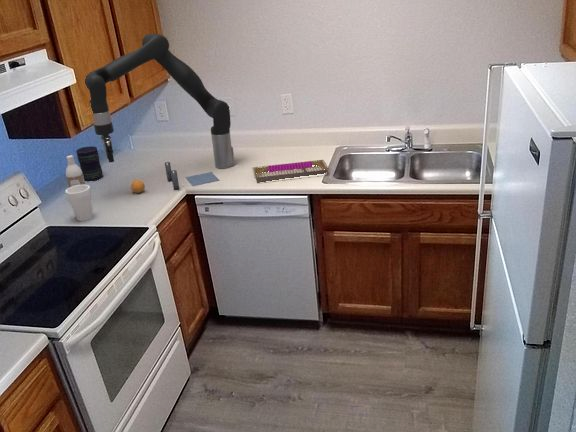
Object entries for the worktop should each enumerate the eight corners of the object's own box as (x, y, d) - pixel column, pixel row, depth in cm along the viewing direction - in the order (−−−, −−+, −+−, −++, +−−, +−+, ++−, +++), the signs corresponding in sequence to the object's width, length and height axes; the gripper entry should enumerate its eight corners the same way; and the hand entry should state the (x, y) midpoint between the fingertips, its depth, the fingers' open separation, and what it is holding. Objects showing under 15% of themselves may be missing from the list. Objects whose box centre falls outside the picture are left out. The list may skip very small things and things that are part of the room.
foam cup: (76, 214, 222) (69, 185, 216) (98, 212, 222) (92, 183, 217) (70, 223, 213) (62, 194, 208) (93, 221, 214) (86, 192, 208)
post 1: (172, 179, 252) (169, 161, 249) (173, 180, 250) (170, 163, 246) (167, 180, 252) (163, 162, 248) (168, 182, 249) (165, 164, 245)
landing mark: (211, 172, 258) (211, 171, 258) (219, 180, 247) (219, 180, 247) (185, 177, 253) (185, 177, 253) (192, 186, 243) (192, 185, 243)
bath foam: (71, 202, 234) (60, 159, 226) (73, 196, 240) (62, 154, 232) (87, 199, 235) (76, 157, 227) (89, 194, 242) (79, 152, 233)
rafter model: (323, 166, 257) (323, 154, 254) (330, 176, 244) (329, 164, 242) (252, 174, 253) (251, 162, 251) (255, 185, 240) (254, 172, 238)
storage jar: (107, 177, 261) (100, 148, 254) (89, 183, 254) (82, 154, 248) (97, 173, 267) (90, 145, 261) (79, 179, 261) (72, 150, 254)
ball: (144, 188, 243) (142, 176, 241) (146, 193, 238) (144, 180, 236) (131, 191, 241) (128, 179, 239) (133, 195, 236) (130, 183, 234)
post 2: (178, 188, 241) (175, 169, 238) (180, 189, 239) (177, 171, 235) (173, 189, 241) (170, 170, 237) (174, 191, 238) (171, 172, 235)
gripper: (113, 124, 217) (122, 163, 225) (109, 117, 229) (117, 154, 237) (95, 127, 215) (103, 166, 222) (91, 119, 227) (100, 157, 234)
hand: (110, 160), depth 229 cm, fingers open, 4 cm apart
